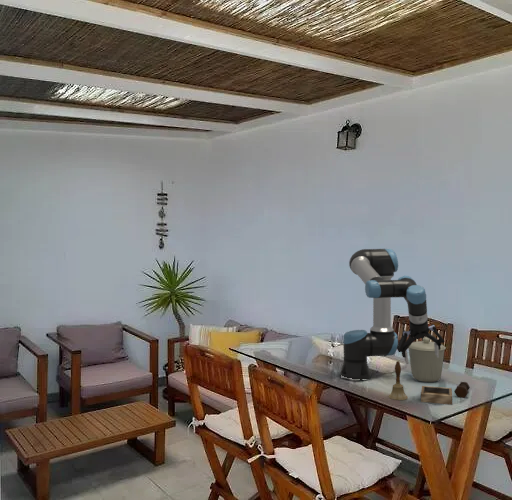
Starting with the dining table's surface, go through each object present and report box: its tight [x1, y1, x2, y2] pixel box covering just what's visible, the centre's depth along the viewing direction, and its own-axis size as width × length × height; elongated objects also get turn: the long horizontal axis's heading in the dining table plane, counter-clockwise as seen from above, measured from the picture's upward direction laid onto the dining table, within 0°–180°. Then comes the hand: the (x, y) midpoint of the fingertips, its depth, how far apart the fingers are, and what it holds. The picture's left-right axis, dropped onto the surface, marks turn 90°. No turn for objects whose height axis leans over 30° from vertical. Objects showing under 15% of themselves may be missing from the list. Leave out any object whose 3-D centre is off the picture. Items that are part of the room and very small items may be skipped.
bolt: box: [454, 381, 471, 399], centre depth 236 cm, size 6×5×15 cm
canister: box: [408, 336, 447, 383], centre depth 258 cm, size 18×18×21 cm
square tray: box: [420, 385, 453, 405], centre depth 228 cm, size 12×12×4 cm
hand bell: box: [387, 360, 409, 401], centre depth 230 cm, size 8×8×16 cm
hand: (421, 358), depth 230 cm, fingers open, 13 cm apart
